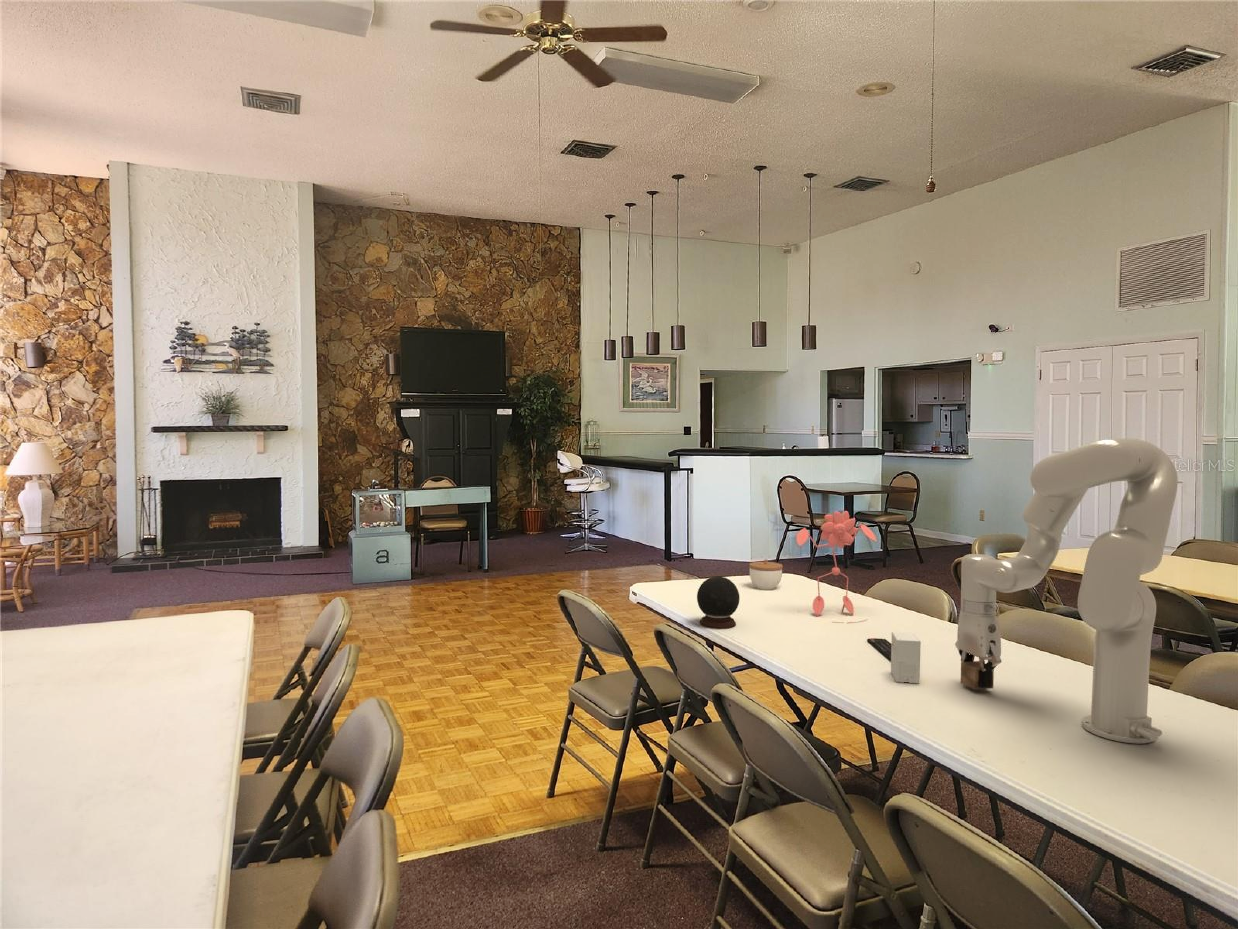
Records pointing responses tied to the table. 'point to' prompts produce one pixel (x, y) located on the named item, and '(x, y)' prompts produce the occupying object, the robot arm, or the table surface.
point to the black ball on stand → (718, 602)
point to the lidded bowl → (765, 574)
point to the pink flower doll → (837, 534)
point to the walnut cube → (972, 674)
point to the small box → (905, 657)
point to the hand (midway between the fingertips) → (976, 682)
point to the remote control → (881, 646)
